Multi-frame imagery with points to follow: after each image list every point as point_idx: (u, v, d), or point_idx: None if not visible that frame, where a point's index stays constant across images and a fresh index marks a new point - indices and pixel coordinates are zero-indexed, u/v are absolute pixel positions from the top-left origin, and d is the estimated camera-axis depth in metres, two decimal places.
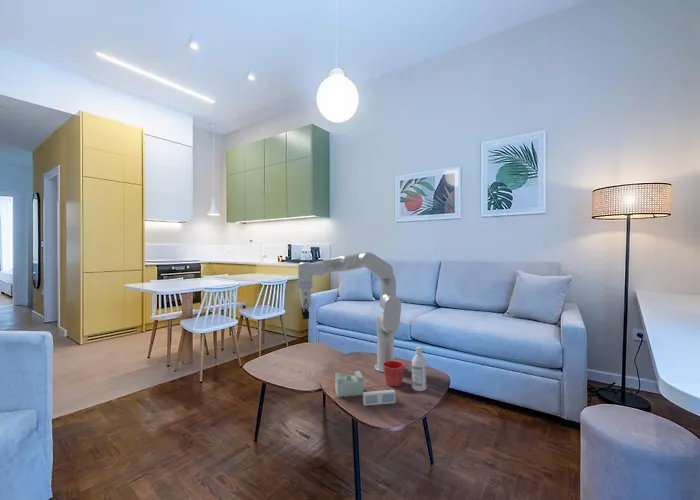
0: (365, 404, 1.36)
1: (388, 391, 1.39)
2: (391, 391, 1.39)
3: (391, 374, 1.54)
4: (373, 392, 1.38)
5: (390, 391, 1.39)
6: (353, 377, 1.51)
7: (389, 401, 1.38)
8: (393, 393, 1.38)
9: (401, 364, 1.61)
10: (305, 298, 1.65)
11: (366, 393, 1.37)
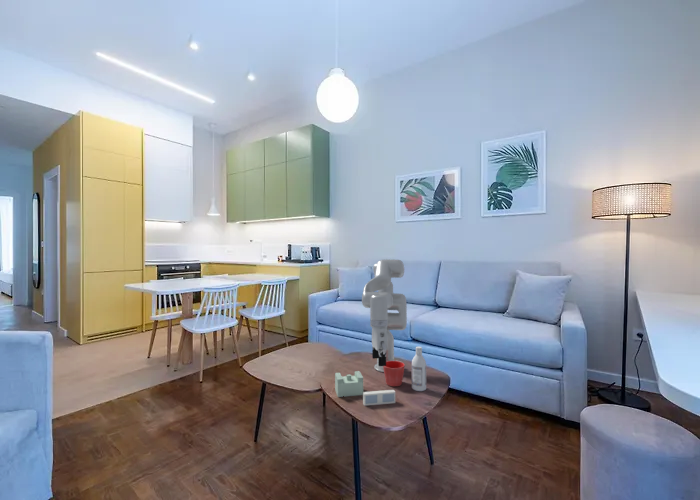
0: (365, 404, 1.36)
1: (388, 391, 1.39)
2: (391, 391, 1.39)
3: (391, 374, 1.54)
4: (373, 392, 1.38)
5: (390, 391, 1.39)
6: (353, 377, 1.51)
7: (389, 401, 1.38)
8: (393, 393, 1.38)
9: (401, 364, 1.61)
10: (381, 340, 1.34)
11: (366, 393, 1.37)
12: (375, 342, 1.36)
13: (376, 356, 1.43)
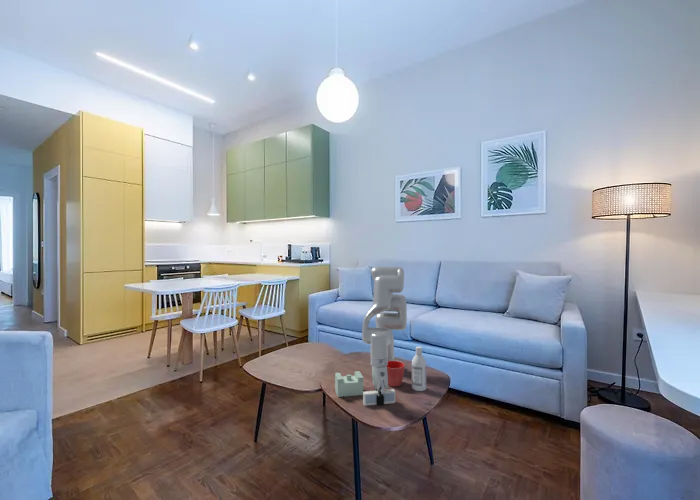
0: (365, 404, 1.36)
1: (388, 391, 1.39)
2: (391, 391, 1.39)
3: (391, 374, 1.54)
4: (373, 392, 1.38)
5: (390, 390, 1.40)
6: (353, 377, 1.51)
7: (389, 401, 1.38)
8: (393, 393, 1.38)
9: (401, 364, 1.61)
10: (381, 380, 1.34)
11: (366, 393, 1.37)
12: (375, 381, 1.36)
13: None
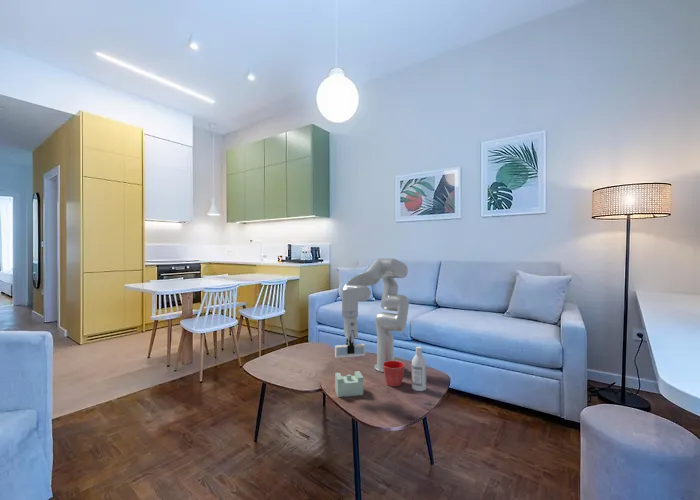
0: (337, 356, 1.46)
1: (358, 344, 1.49)
2: (361, 344, 1.49)
3: (391, 374, 1.54)
4: (344, 345, 1.48)
5: (360, 344, 1.50)
6: (353, 377, 1.51)
7: (359, 353, 1.48)
8: (362, 346, 1.49)
9: (401, 364, 1.61)
10: (351, 329, 1.44)
11: (338, 346, 1.47)
12: (346, 331, 1.46)
13: None
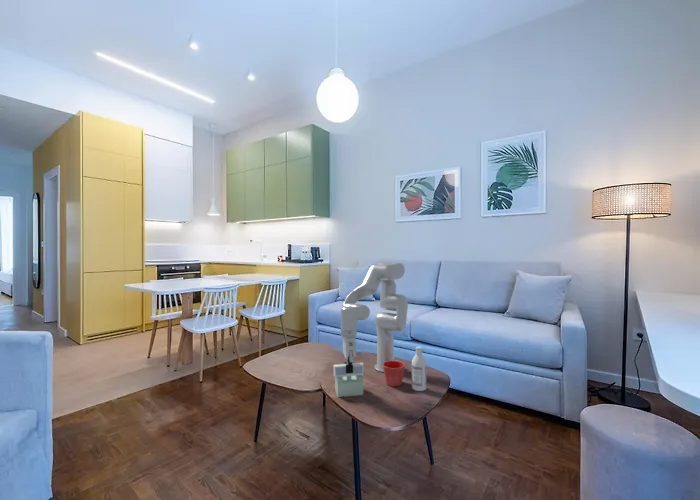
0: (335, 375, 1.47)
1: (357, 364, 1.50)
2: (360, 364, 1.50)
3: (391, 374, 1.54)
4: (343, 365, 1.49)
5: (359, 363, 1.50)
6: (353, 377, 1.51)
7: (358, 373, 1.49)
8: (361, 365, 1.49)
9: (401, 364, 1.61)
10: (350, 349, 1.44)
11: (336, 365, 1.48)
12: (344, 351, 1.46)
13: None
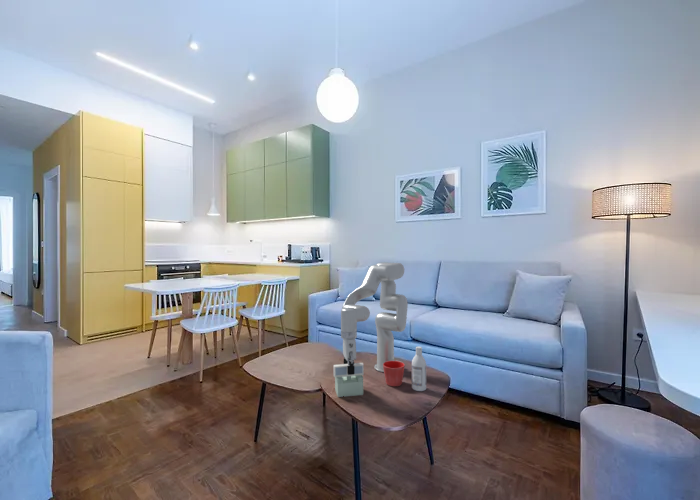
0: (335, 375, 1.47)
1: (357, 364, 1.50)
2: (360, 364, 1.50)
3: (391, 374, 1.54)
4: (343, 365, 1.48)
5: (359, 363, 1.50)
6: (353, 377, 1.51)
7: (358, 373, 1.49)
8: (361, 365, 1.49)
9: (401, 364, 1.61)
10: (350, 351, 1.44)
11: (336, 365, 1.47)
12: (345, 352, 1.46)
13: None
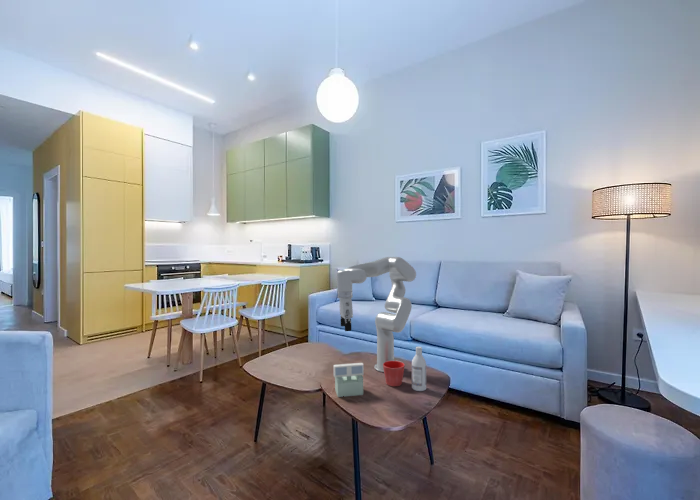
0: (335, 375, 1.47)
1: (357, 364, 1.50)
2: (360, 364, 1.50)
3: (391, 374, 1.54)
4: (343, 365, 1.48)
5: (359, 363, 1.50)
6: (353, 377, 1.51)
7: (358, 373, 1.49)
8: (361, 365, 1.49)
9: (401, 364, 1.61)
10: (347, 309, 1.54)
11: (336, 365, 1.47)
12: (342, 311, 1.56)
13: (344, 324, 1.63)
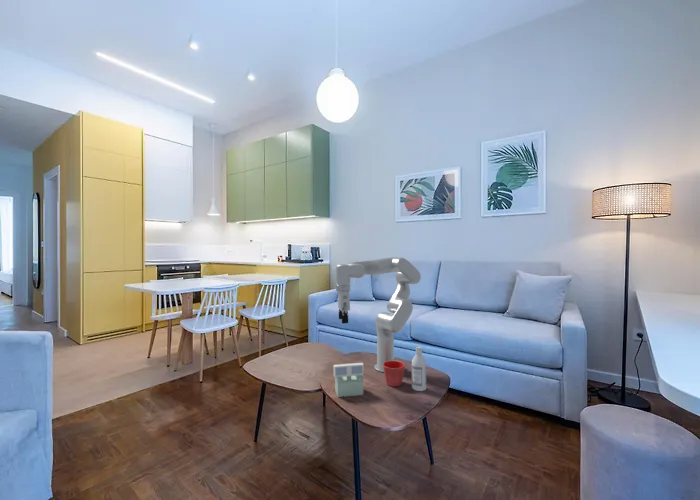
0: (335, 375, 1.47)
1: (357, 364, 1.50)
2: (360, 364, 1.50)
3: (391, 374, 1.54)
4: (343, 365, 1.48)
5: (359, 363, 1.50)
6: (353, 377, 1.51)
7: (358, 373, 1.49)
8: (361, 365, 1.49)
9: (401, 364, 1.61)
10: (344, 302, 1.59)
11: (336, 365, 1.47)
12: (339, 304, 1.61)
13: (342, 317, 1.68)
